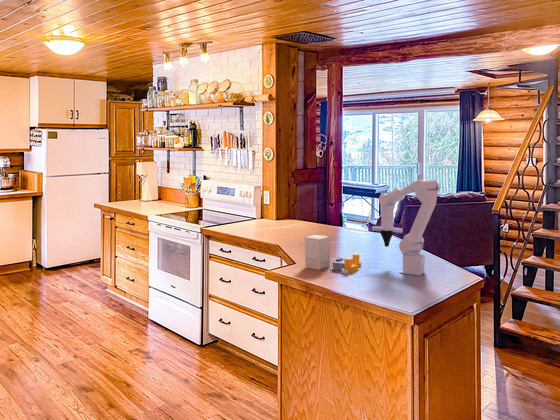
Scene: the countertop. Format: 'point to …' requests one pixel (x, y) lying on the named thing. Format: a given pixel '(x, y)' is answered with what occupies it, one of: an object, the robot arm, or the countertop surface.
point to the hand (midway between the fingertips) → (386, 246)
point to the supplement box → (317, 252)
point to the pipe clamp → (352, 263)
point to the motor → (341, 266)
